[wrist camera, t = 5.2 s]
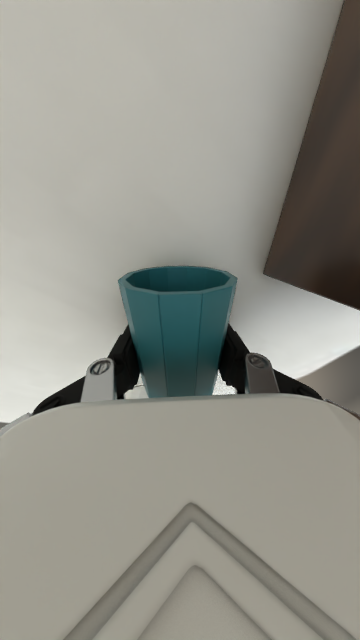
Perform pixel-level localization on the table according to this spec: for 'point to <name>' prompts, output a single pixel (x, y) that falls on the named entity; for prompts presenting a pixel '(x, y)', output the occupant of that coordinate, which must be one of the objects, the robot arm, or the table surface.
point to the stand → (327, 182)
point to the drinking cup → (178, 326)
